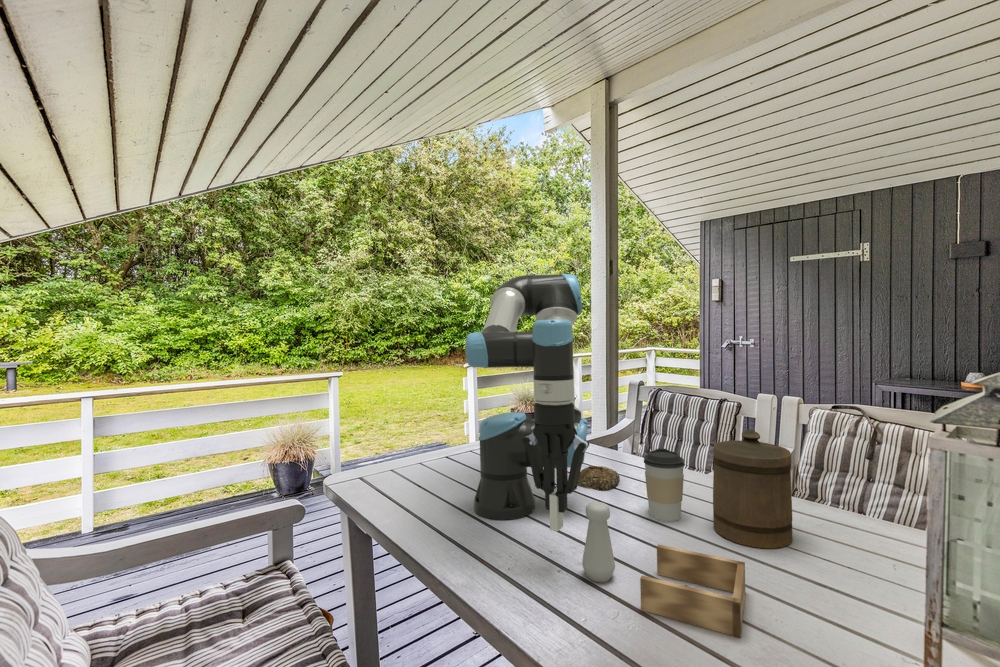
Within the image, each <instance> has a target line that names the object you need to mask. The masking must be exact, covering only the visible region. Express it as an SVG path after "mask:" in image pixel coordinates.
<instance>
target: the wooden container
mask: <svg viewBox="0 0 1000 667" xmlns="http://www.w3.org/2000/svg"><path fill="white" fill-rule="evenodd" d="M741 437H742V440H724V441H719V442H716V443H714V445H713V480H712V482H713V484H712V506H713V507H712V509H713V510H712V511H713V517H712V518H713V519H712V520H713V529H714V531H715V532H716V533H717V534H719V536H721V537H723V538H725V539H727V540H728V541H731V542H733V543H735V544H738V545H739V544H740V545H742V546H745V547H751V548H758V549H781V548H784V547H787V546H789V545H790V544H792V542H793V499H792V478H791V469H792V453H791V451H790V450H789V449H787V448H786V447H783V446H780V445H776V444H773V443H767V442H763V441H762V442H761V441H759V439H761V435H760V433H759V432H756V430H755V429H746V430H744V431H742V432H741Z"/></svg>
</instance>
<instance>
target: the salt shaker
mask: <svg viewBox="0 0 1000 667" xmlns="http://www.w3.org/2000/svg"><path fill="white" fill-rule="evenodd" d="M585 516H586V518H587V519H588V524H587V526H588V527H587V532H586V538H585V543H584V544H585V545H584V549H583V556H582V559H581V560H582V568H583V569H584V572H585V574H586V576H587V578H589V579H590V580H591V581H593V582H594V583H597V582H598V583H606V582H608V581H610V580H611V579H612V577H613V574H614V571H615V569H616V561H615V558H614V553H613V545H612V541H611V536H610V530H609V525H608V520H609V519H610V517H611V510H610V506H609V505H608V504H606V503H605V502H602V501H601V502H600V501H592V502H589V503H588V504H587V505H585Z"/></svg>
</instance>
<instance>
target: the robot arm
mask: <svg viewBox="0 0 1000 667" xmlns="http://www.w3.org/2000/svg"><path fill="white" fill-rule="evenodd" d="M582 313H583V301H582V293H581V287H580V283H579V279H578V277H577V276H576V275H574V274H573V273H559V274H558V273H557V274H533V275H532V274H531V275H530V274H529V275H528V274H526V275H525V274H523V275H519V276H515V277H513V278H511V279H509V280H507V281H505V282H504V283H502V284H501V285H499V286H498V287H497V288H496V289H495V291H494V292H493V294H492V296H491V299H490V311H489V313H488V315H487V318H486V321H485V324H484V326H483V328H482V331H477V332H471V333H468V335H466V339H465V348H464V351H465V360H466V364H468V366H469V367H471V368H480V369H481V368H483V369H489V368H490V369H491V368H494V369H495V368H533V400H535V401H536V402H535V404H533V413H534V414H533V416H534V417H533V418H527V415H526V413H524V412H521V411H514V412H504V413H503V412H502V413H498V414H494V415H492V416H491V415H490V416H488V417H485V418H483V420H482V421H481V422H480V423H479V424H480V425H479V437H478V441H479V460H480V461H479V462H480V463H479V464H480V477H479V478H480V479H479V482H478V485H477V489H476V492H475V496H474V500H473V505H474V507H473V508H474V511H475V513H476V514H478V515H479V516H481V517H484V518H488V519H493V520H514V519H520V518H523V517H527V516H529V515H530V514H532V513H533V512H534V511H535V510H536V509H535V507H536V505H535V504H536V501H535V500H536V499H535V496H534V493H533V490H532V487H531V483H530V481H529V478H528V468H531V469H530V470H531V473H532V474H531V475H532V477H533V481H534V487H535V488H536V489H538V490H542V491H543V492H544V500H545V504H544V505H545V507H544V508H545V510H547V511H549V531H552V532H559V531H560V530H561V529H562V528H564V513H565V512H567V509H568V495H570V494H572V493H573V492H574V491H575V492H576V490H577V488H578V486H579V485H578V480H579V475H580V472H581V471H582V470H581V469H582V465H583V464H584V462H585V456H586V454H585V453H586V451H587V449H588V448H589V446H590V442H589V441H588V440H587V433H588V420H587V419H586V418H584V417H583V418H582V410H580V409H579V408H578V407H577V406H576V402H575V400H576V399H575V370H574V333H573V332H574V331H573V324H575V322H577V321H578V316H579V315H581V314H582ZM521 316H523V317H524V316H530V317H531V316H535V321H534V322H533V323H532V330H531V331H517V328H518V322H519V318H520V317H521ZM568 468H569V471H568ZM555 472H556V473H555ZM568 472H569V473H568ZM555 489H556V490H555Z"/></svg>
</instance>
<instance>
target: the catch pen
mask: <svg viewBox="0 0 1000 667" xmlns="http://www.w3.org/2000/svg"><path fill="white" fill-rule="evenodd" d="M656 572H657V573H656V574H657V575H659V576H663V577H667V578H671V579H675V580H679V581H683V582H688V583H693V584H695V585H700V586H704V587H709V588H712V589H717V590H720V591H721V590H722V591H725V592H730V593H733V594H732V596H728V595H724V594H720V593H715V592H711V591H707V590H703V589H699V588H695V587H692V586H688V585H683V584H679V583H675V582H671V581H665V580H662V579H659V578H655V577H649V576H646V575H641V576H640V579H639V580H640V582H639V585H640V611H644V612H647V613H651V614H654V615H659V616H662V617H664V618H669V619H673V620H675V621H678V622H679V621H680V622H683V623H686V624H689V625H690V624H691V625H693V626H698V627H701V628H705V629H708V630H712V631H715V632H718V633H722V634H726V635H729V636H733V637H737V638H741V637H742V631H743V630H742V628H743V620H744V619H743V618H744V610H745V609H744V607H745V601H746V600H745V599H746V562H744V561H739V560H737V559H736V560H734V559H731V558H726V557H720V556H717V555H712V554H711V555H710V554H705V553H702V552H696V551H692V550H687V549H681V548H677V547H671V546H667V545H662V544H657V545H656Z"/></svg>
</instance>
